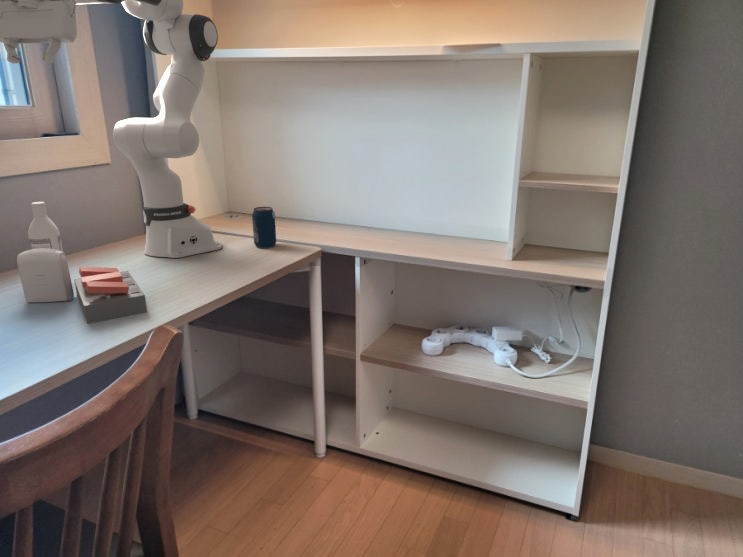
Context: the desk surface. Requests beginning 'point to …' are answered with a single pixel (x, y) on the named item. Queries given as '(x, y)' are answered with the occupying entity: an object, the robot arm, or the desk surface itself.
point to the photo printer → (45, 275)
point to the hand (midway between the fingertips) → (30, 62)
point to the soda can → (264, 227)
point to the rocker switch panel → (111, 301)
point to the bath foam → (43, 230)
